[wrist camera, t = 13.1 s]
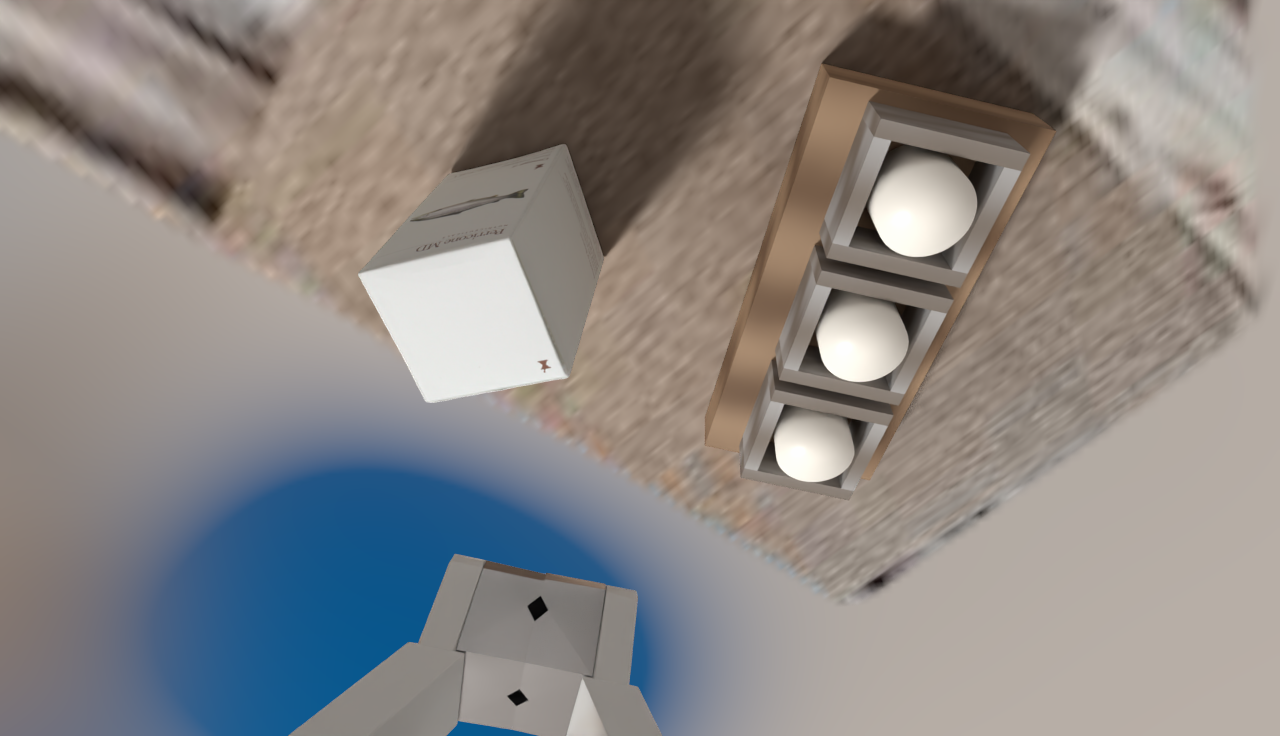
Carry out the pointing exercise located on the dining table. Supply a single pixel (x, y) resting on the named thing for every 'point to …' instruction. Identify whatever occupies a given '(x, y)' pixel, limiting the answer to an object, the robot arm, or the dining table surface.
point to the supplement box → (490, 277)
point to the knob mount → (860, 264)
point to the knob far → (812, 444)
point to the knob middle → (860, 336)
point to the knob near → (921, 201)
